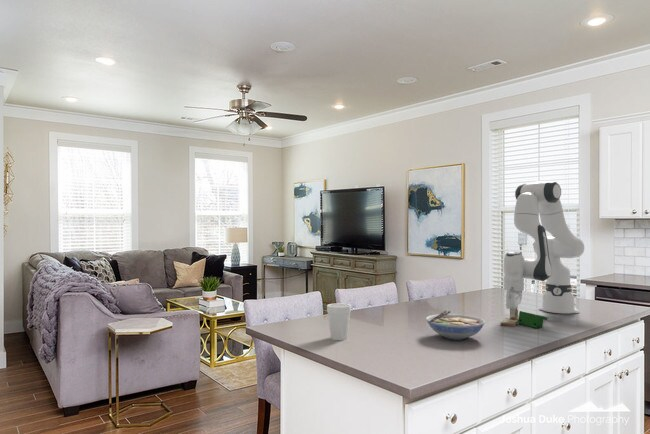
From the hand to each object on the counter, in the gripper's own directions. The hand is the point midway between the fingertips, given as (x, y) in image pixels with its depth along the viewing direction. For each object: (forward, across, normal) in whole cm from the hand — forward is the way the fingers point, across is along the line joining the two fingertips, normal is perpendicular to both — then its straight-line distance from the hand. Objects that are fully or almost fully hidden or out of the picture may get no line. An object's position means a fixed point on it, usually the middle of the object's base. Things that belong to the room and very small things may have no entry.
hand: (513, 315), depth 218 cm
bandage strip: (+2, -10, 0) cm, 10 cm away
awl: (+2, 0, 0) cm, 2 cm away
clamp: (+2, -8, -9) cm, 13 cm away
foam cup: (+2, -74, +53) cm, 91 cm away
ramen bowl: (+2, -49, +14) cm, 51 cm away
